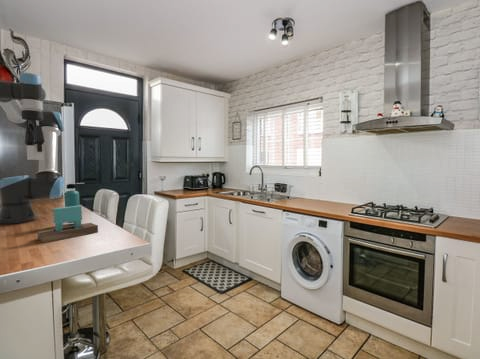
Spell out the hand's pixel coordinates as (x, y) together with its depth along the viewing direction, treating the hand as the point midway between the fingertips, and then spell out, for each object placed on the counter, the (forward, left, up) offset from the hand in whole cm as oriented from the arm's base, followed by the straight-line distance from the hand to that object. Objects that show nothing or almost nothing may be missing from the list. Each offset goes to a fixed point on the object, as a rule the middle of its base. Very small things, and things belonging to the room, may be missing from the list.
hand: (35, 159), depth 119 cm
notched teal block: (+19, +6, -32) cm, 37 cm away
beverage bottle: (-1, +14, -32) cm, 35 cm away
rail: (+19, +6, -32) cm, 37 cm away
